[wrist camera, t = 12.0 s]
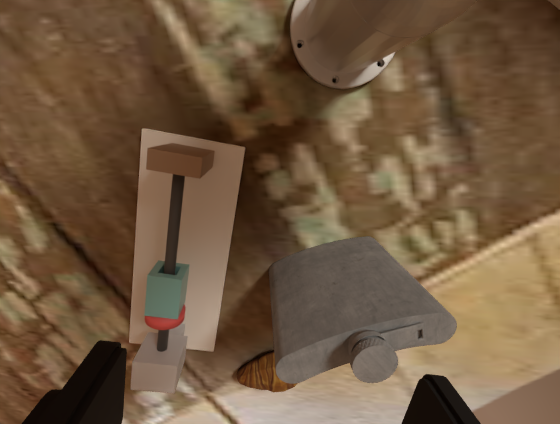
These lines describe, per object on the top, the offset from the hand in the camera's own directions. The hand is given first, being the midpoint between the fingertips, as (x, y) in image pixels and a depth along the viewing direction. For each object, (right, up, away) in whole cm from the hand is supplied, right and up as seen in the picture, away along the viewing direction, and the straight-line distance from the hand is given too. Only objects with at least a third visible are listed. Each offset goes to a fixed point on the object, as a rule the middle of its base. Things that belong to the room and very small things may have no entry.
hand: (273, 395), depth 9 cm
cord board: (-13, +1, +31) cm, 33 cm away
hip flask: (+6, 0, +33) cm, 33 cm away
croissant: (0, -17, +37) cm, 41 cm away
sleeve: (-13, -3, +26) cm, 29 cm away
